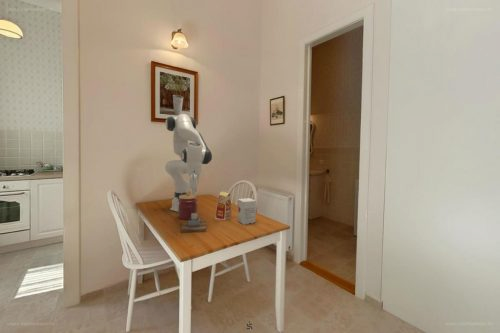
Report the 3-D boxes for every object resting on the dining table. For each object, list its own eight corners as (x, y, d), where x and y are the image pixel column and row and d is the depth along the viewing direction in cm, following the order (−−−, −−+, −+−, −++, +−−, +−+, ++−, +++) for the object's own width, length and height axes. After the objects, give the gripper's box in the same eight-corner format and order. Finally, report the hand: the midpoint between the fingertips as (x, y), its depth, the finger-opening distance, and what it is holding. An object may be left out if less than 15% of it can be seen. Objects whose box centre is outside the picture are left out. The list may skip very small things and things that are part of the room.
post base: (183, 224, 137) (183, 211, 137) (206, 223, 140) (206, 210, 139) (180, 232, 123) (180, 217, 123) (206, 231, 126) (206, 217, 125)
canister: (194, 220, 146) (194, 194, 145) (175, 219, 147) (175, 193, 145) (199, 214, 159) (199, 190, 158) (181, 214, 160) (181, 190, 158)
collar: (189, 223, 134) (189, 217, 134) (200, 223, 135) (200, 217, 135) (188, 227, 128) (188, 220, 128) (199, 226, 129) (199, 220, 129)
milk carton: (214, 219, 149) (215, 190, 148) (222, 215, 158) (222, 188, 156) (226, 221, 146) (226, 191, 144) (233, 217, 154) (233, 189, 153)
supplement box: (237, 220, 146) (237, 198, 145) (249, 219, 150) (249, 197, 149) (243, 225, 138) (243, 201, 137) (255, 223, 142) (256, 200, 141)
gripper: (199, 172, 119) (198, 197, 121) (200, 168, 139) (200, 190, 141) (187, 172, 118) (187, 197, 119) (190, 168, 138) (190, 190, 140)
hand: (194, 193), depth 130 cm, fingers open, 8 cm apart
